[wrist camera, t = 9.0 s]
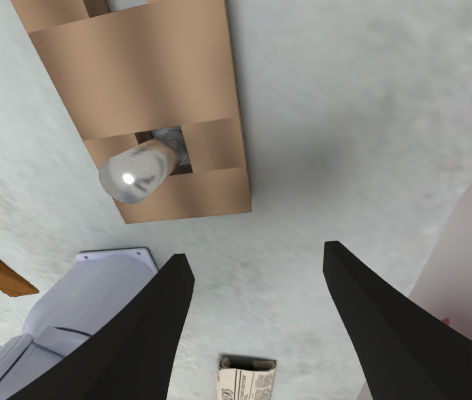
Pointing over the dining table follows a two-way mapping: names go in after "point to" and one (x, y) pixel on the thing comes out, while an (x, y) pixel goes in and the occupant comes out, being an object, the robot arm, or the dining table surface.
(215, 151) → the tool stand
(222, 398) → the newspaper
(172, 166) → the steel peg
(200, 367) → the dining table surface
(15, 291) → the primitive tool
